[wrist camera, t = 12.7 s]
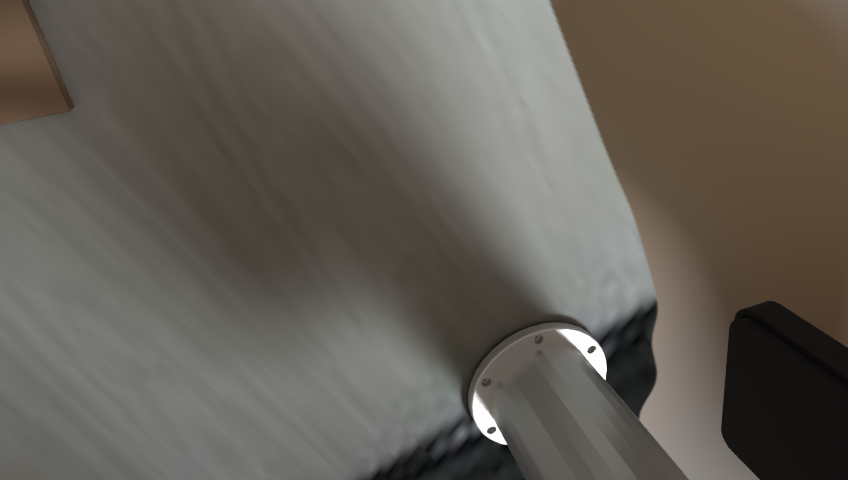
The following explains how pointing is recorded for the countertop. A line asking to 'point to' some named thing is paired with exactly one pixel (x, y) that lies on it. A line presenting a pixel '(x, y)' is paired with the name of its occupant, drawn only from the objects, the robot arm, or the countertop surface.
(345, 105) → the countertop surface
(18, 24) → the caddy
